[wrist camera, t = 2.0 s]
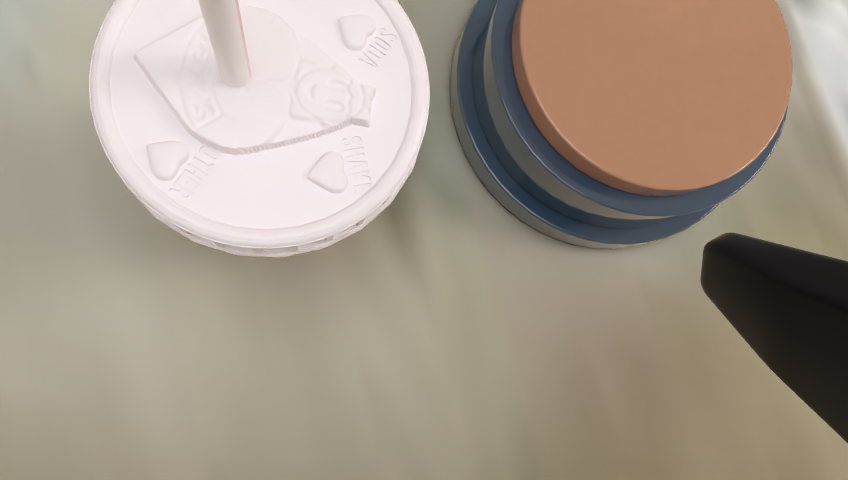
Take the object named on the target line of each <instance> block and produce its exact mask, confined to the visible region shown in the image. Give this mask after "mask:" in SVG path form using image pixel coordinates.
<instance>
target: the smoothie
mask: <svg viewBox="0 0 848 480" xmlns="http://www.w3.org/2000/svg"><path fill="white" fill-rule="evenodd" d="M89 97H90V105H91V112H92V116H93V120H94V124H95V128H96V131H97V134H98V137H99V139H100V142H101V145H102V147H103V149H104V151H105V153H106V155H107V157H108V159H109V161H110V162H111V164H112V165H113V167H114V169H115V170H116V172H117V173H118V175H119V176H120V177H121V178H122V180H123V182H124V184H125V186H126V187H127V188H128V189H129V190H130V191H131V192H132V193H133V194H134V196H135V197H136V198H137V199H138V200H139V201H140V202H141V203H142V204H143V205H144V206H145V207H146V208H147V210H148V211H149V212H150V213H151V214H152V215H153V216H154V217H155V218H156V219H157V220H159V221H161V222H162V223H164V224H165V225H167V226H169V227H170V228H172V229H173V230H175V231H177V232H178V233H180V234H181V235H183V236H185V237H186V238H188V239H189V240H191V241H193V242H195V243H198V244H201V245H204V246H208V247H211V248H214V249H217V250H221V251H224V252H227V253H230V254H233V255H237V256H257V257H279V258H282V257H287V256H291V255H296V254H301V253H306V252H310V251H315V250H320V249H324V248H326V247H328V246H330V245H332V244H334V243H336V242H338V241H340V240H342V239H344V238H346V237H348V236H350V235H352V234H354V233H356V232H358V231H360V230H362V229H363V228H364V227H365V226H366V225H367V224H368V223H370V222H371V221H372V220H373V219H374V218H375V217H376V216H377V215H378V214H380V213H381V212H382V211H383V210H384V209H385V208H386V207H387V206H389V205H390V204H391V203H392V202H393V200H394V198H395V197H396V195H397V194H398V192H399V191H400V189H401V188H402V186H403V184H404V183H405V181H406V180H407V178H408V177H409V175H410V173H411V172H412V170H413V168H414V165H415V162H416V159H417V155H418V152H419V149H420V146H421V143H422V140H423V137H424V134H425V129H426V125H427V120H428V113H429V103H430V87H429V77H428V70H427V65H426V60H425V56H424V53H423V50H422V46H421V43H420V41H419V38H418V36H417V34H416V31H415V29H414V27H413V25H412V23H411V21H410V20H409V18H408V16H407V14H406V13H405V11H404V10H403V8H402V7H401V5H400V4H399V3H398V1H397V0H115V2H114V3H113V5H112V6H111V8H110V10H109V11H108V13H107V15H106V17H105V19H104V21H103V23H102V25H101V28H100V30H99V32H98V35H97V38H96V41H95V45H94V48H93V53H92V58H91V63H90V73H89Z"/></svg>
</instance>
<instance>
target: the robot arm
mask: <svg viewBox="0 0 848 480" xmlns="http://www.w3.org/2000/svg"><path fill="white" fill-rule="evenodd" d="M701 285H702V288H703V290H704V292H705V293H706V295H707V296H708V297H709V298H710V300H711V301H712V302H713V303H714V304H715V305H716V307H717V308H718V309H719V310H720V311H721V312H722V314H723V315H724V316H725V317H726V318H727V319H728V321H729V322H730V323H731V324H732V325H733V327H734V328H735V329H736V330H737V331H738V332H739V334H740V335H741V336H742V337H743V338H744V339H745V341H746V342H747V343H748V344H749V345H750V346H751V348H752V349H753V350H754V351H755V352H756V353H757V355H758V356H759V357H760V358H761V359H762V360H763V361H764V362H765V363H766V365H767V366H768V367H769V368H770V369H771V370H772V371H773V372H774V373H775V374H776V375H777V376H778V377H779V378H780V379H781V380H782V381H783V382H784V383H785V384H786V385H787V386H788V387H789V388H791V389H792V390H793V391H794V392H795V393H796V394H797V395H798V396H799V397H800V398H801V399H802V400H803V401H804V402H805V403H806V404H807V405H808V406H809V407H810V408H811V409H813V410H814V411H815V412H816V413H817V414H818V415H819V416H820V417H821V418H822V419H823V420H824V421H825V422H826V423H827V424H828V425H829V426H830V427H831V428H832V429H833V430H835V431H836V432H837V433H838V434H839V435H840V436H841V437H842V438H843V439H844V440H845V441H846V442H847V443H848V261H844V260H840V259H836V258H832V257H828V256H824V255H820V254H816V253H812V252H808V251H804V250H800V249H796V248H792V247H788V246H784V245H780V244H776V243H772V242H769V241H765V240H761V239H757V238H753V237H749V236H745V235H741V234H737V233H725V234H723V235H721V236H719V237H717V238H715V239H713V240H712V241H710V242H708V243H707V244H706V245H705V247H704V251H703V260H702V269H701Z"/></svg>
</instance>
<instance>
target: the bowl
mask: <svg viewBox="0 0 848 480" xmlns="http://www.w3.org/2000/svg"><path fill="white" fill-rule="evenodd" d="M791 85H792V55H791V47H790V42H789V37H788V32H787V29H786V26H785V23H784V20H783V17H782V14H781V12H780V9H779V7H778V5H777V3H776V1H775V0H478V2H477V3H476V5H475V6H474V8H473V10H472V12H471V13H470V15H469V17H468V19H467V21H466V23H465V26H464V28H463V30H462V32H461V35H460V37H459V39H458V42H457V46H456V49H455V53H454V56H453V61H452V69H451V76H450V99H451V107H452V114H453V119H454V123H455V127H456V131H457V134H458V138H459V140H460V143H461V145H462V147H463V150H464V152H465V155H466V157H467V159H468V160H469V162H470V164H471V166H472V168H473V169H474V171H475V173H476V175H477V176H478V177H479V179H480V180H481V181H482V183H483V184H484V185H485V187H486V188H487V189H488V191H489V192H490V193H491V194H492V195H493V196H494V197H495V198H496V199H497V200H498V201H499V202H500V203H501V204H502V205H503V206H504V207H505V208H506V209H507V210H508V211H510V212H511V213H512V214H513V215H515V216H516V217H517V218H518V219H520V220H521V221H523V222H524V223H526V224H527V225H529V226H531V227H532V228H534V229H536V230H537V231H539V232H541V233H544V234H546V235H548V236H550V237H552V238H555V239H557V240H560V241H564V242H567V243H570V244H573V245H578V246H584V247H589V248H599V249H618V248H627V247H634V246H638V245H642V244H646V243H650V242H654V241H657V240H660V239H664V238H667V237H669V236H672V235H674V234H676V233H679V232H681V231H684V230H685V229H687V228H689V227H690V226H692V225H694V224H695V223H697V222H699V221H700V220H701V219H702V218H704V217H705V216H706V215H707V214H709V213H710V212H711V211H712V210H713V209H714V208H715V207H716V206H717V205H718V204H719V203H720V202H722V201H723V200H725V199H727V198H728V197H730V196H732V195H733V194H735V193H736V192H737V191H739V190H740V189H741V188H742V187H743V186H745V185H746V184H747V183H748V182H750V180H751V179H752V178H753V177H754V176H755V175H756V174H757V173H758V171H759V170H760V169H761V168H762V167H763V165H764V164H765V162H766V161H767V159H768V158H769V156H770V155H771V153H772V152H773V149H774V147H775V145H776V143H777V141H778V139H779V137H780V134H781V131H782V128H783V125H784V122H785V118H786V113H787V108H788V102H789V97H790V91H791Z"/></svg>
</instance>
